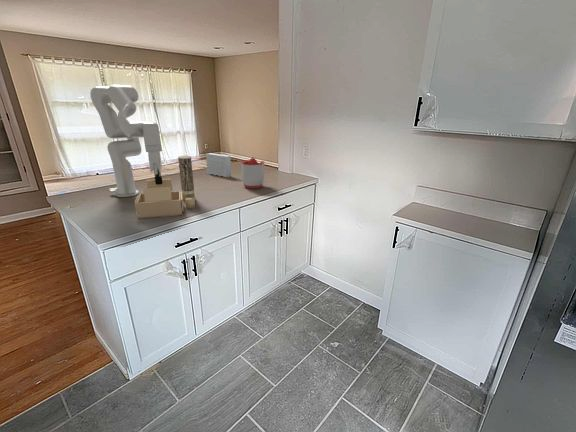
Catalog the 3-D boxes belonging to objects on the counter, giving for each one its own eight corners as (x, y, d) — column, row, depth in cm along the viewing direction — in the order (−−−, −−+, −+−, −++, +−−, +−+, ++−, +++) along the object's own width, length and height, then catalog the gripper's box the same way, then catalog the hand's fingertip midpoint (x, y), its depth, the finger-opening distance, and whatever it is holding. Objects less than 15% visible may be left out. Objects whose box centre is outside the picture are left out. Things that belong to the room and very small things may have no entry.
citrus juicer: (269, 185, 206) (270, 156, 199) (257, 191, 191) (257, 160, 184) (250, 182, 212) (250, 154, 205) (237, 187, 197) (236, 158, 190)
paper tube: (190, 196, 177) (186, 155, 168) (197, 199, 173) (193, 156, 164) (180, 199, 172) (175, 156, 163) (187, 202, 168) (182, 158, 159)
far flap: (172, 190, 159) (170, 178, 157) (172, 190, 159) (170, 179, 156) (148, 191, 156) (146, 180, 153) (148, 192, 155) (146, 180, 152)
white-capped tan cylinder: (186, 209, 157) (185, 200, 156) (185, 206, 162) (185, 197, 160) (195, 208, 159) (194, 199, 157) (195, 205, 163) (194, 196, 161)
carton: (136, 219, 143) (134, 203, 140) (140, 208, 157) (138, 193, 154) (183, 214, 149) (182, 199, 147) (183, 204, 164) (181, 190, 161)
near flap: (144, 201, 141) (143, 188, 141) (145, 202, 141) (143, 188, 141) (171, 199, 144) (170, 186, 145) (171, 200, 145) (170, 187, 145)
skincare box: (231, 176, 226) (230, 155, 220) (226, 177, 222) (225, 156, 216) (212, 172, 236) (210, 152, 230) (206, 173, 232) (205, 153, 226)
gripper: (147, 146, 153) (152, 181, 159) (143, 150, 139) (149, 188, 146) (162, 146, 155) (167, 180, 161) (160, 150, 141) (166, 187, 148)
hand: (159, 184), depth 153 cm, fingers closed
